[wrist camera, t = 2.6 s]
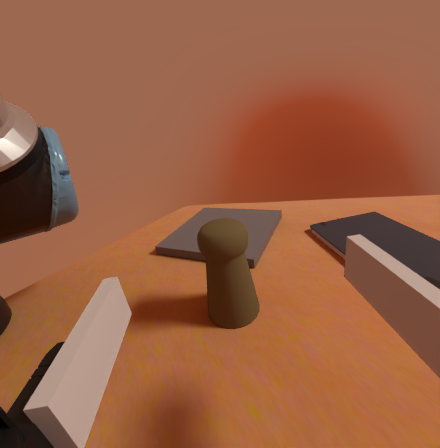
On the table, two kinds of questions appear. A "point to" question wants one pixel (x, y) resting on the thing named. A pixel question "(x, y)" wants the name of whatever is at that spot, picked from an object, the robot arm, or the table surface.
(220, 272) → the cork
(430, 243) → the notebook
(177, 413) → the table surface
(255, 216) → the slate board
